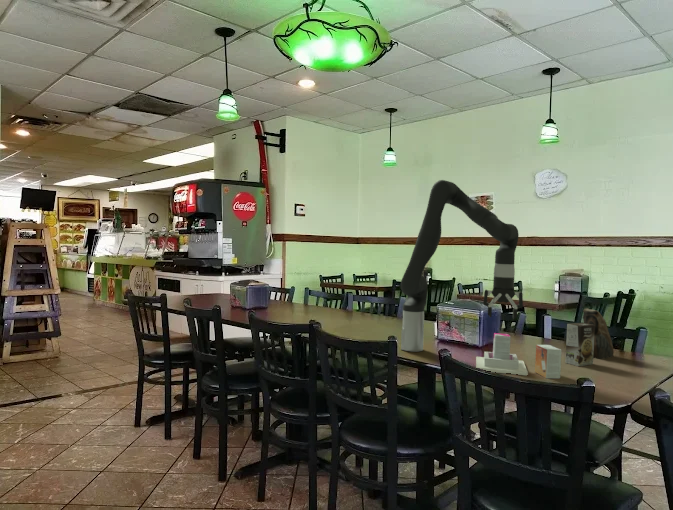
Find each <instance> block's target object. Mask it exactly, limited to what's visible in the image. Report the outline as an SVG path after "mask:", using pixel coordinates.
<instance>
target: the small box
mask: <svg viewBox="0 0 673 510" xmlns="http://www.w3.org/2000/svg"><path fill="white" fill-rule="evenodd" d="M535 346H536V347H535V361H534V363H535V364H534V365H535V366H534V373H537V374H538V375H540V376H542V378H544V379H561V371H562V369H561V368H562V367H561V366H562V351H563V350H562V349H561V348H558V347H555V346H554V345H551V344H536V345H535Z"/></svg>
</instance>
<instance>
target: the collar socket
mask: <svg viewBox="0 0 673 510" xmlns="http://www.w3.org/2000/svg"><path fill="white" fill-rule="evenodd" d="M483 352H484V353H483V356H476V357H475V359H476V360H475V369H476V368H480V369H483V370H486V371H491V372H490V373H495V372H496V373H497V374H506V373H511V374H510V375H516V374H518V375H517V376H519V375H520V376H527V375H529V372H528V369H527V367H526V365H525V362H524V360H519V358H518V356H517V354H516V353H510V358H509V360H508V359H496V358H493V351H483Z"/></svg>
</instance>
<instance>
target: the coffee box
mask: <svg viewBox="0 0 673 510" xmlns="http://www.w3.org/2000/svg"><path fill="white" fill-rule="evenodd" d="M566 325H567V326H566V342H565V344H566V345H565V364H569V365H573V366H576V367H582V366H583V367H584V366H590V365H594V358H593V353H594V330H595V325H593V324H586V323H584V322H572V323H567V324H566Z"/></svg>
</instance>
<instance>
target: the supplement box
mask: <svg viewBox="0 0 673 510" xmlns="http://www.w3.org/2000/svg"><path fill="white" fill-rule="evenodd" d="M492 344H493V345H492V352H493V358H496V359H508V360H509V358H510V354H511V335H510V334H509V333H501V332H498V333H497V332H494V333H493V343H492Z"/></svg>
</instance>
